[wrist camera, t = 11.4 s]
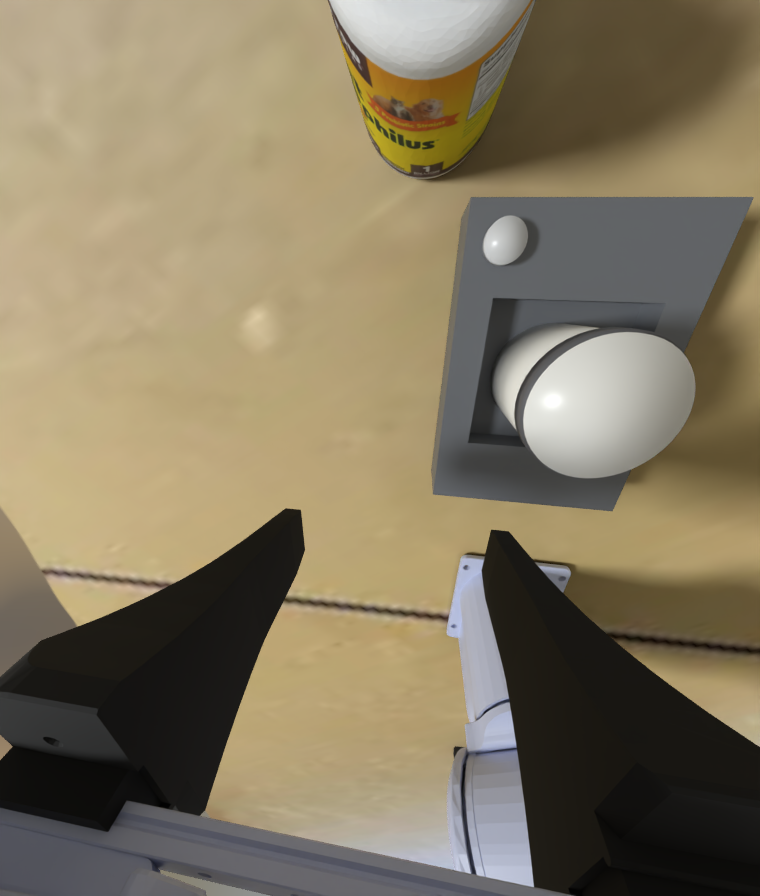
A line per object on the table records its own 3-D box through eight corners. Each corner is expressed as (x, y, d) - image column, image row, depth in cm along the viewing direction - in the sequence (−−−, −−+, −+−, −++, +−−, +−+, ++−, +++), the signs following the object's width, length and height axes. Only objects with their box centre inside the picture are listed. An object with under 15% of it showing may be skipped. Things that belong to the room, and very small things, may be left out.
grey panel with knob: (586, 482, 20) (618, 518, 16) (431, 469, 21) (433, 500, 17) (687, 218, 14) (770, 191, 10) (461, 217, 15) (473, 192, 11)
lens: (583, 426, 17) (661, 483, 11) (482, 423, 17) (510, 477, 12) (614, 319, 14) (731, 328, 9) (496, 321, 15) (538, 330, 10)
